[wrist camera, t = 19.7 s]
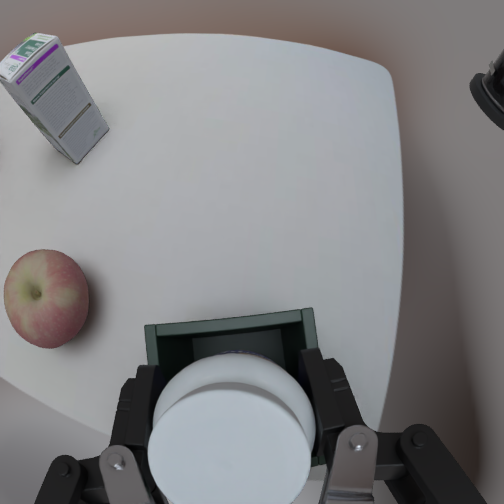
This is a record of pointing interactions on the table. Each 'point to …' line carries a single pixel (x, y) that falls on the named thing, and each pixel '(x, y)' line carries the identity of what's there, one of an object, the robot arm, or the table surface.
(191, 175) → the table surface
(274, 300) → the table surface
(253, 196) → the table surface
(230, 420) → the pill bottle
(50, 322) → the apple
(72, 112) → the syrup box
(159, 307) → the table surface
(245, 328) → the trash can
